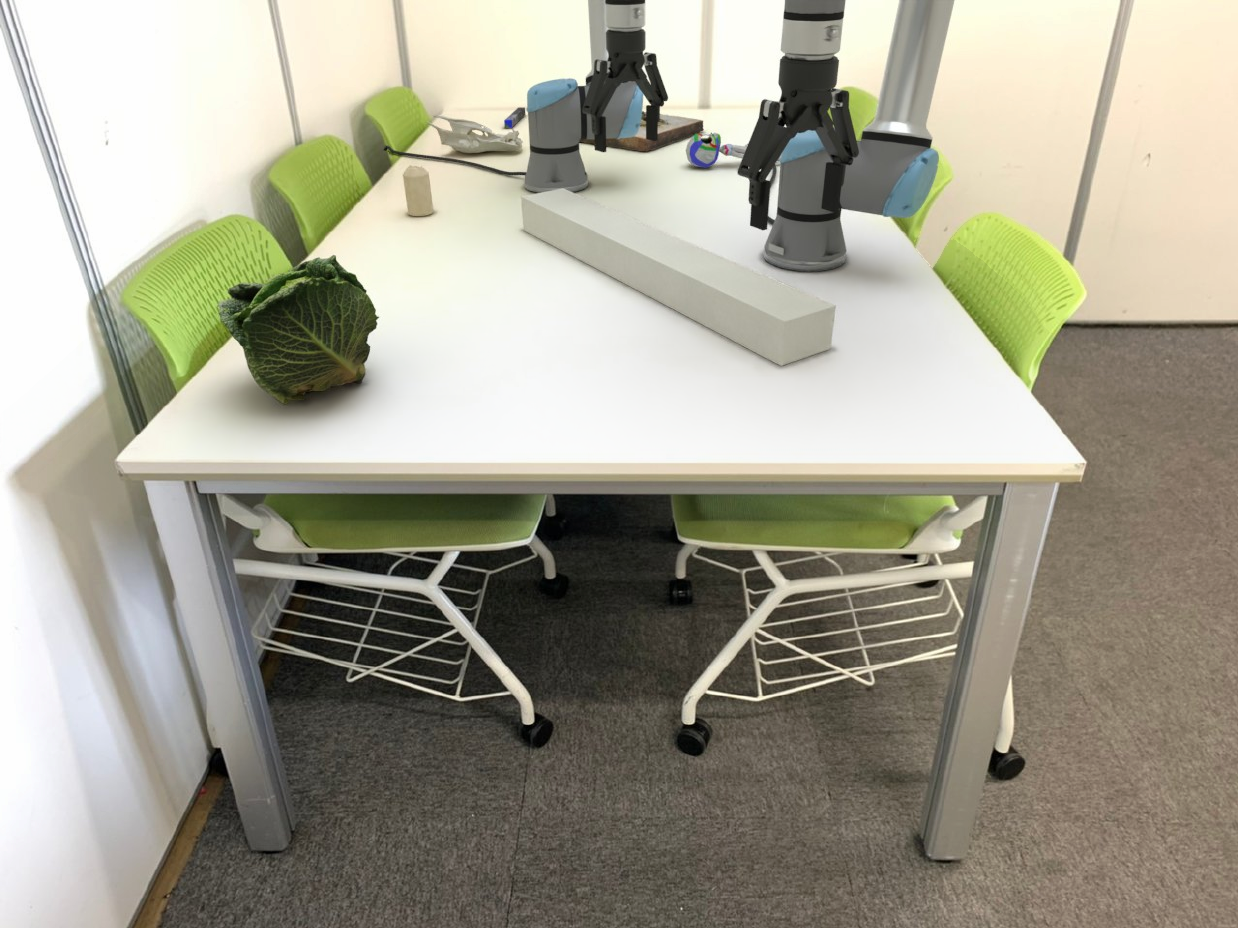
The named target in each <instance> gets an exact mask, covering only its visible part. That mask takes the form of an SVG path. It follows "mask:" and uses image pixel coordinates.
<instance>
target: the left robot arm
mask: <svg viewBox="0 0 1238 928" xmlns="http://www.w3.org/2000/svg"><path fill="white" fill-rule="evenodd" d="M587 7H588V8H587V9H588V27H589V42H590V43H589V45H590V46H589V47H590V64H591V70H590V71H589V73H588V74H587V75H586V76H585V85H579V84H578V82H577V79H575V78H570V77H569V78H557V79H551V80H547V81H542V82H539V83H537V84H534V85H532V86H531V87H530V88H529V89H528V90H527V93H526V108H525V111H526V112H527V119H528V120H527V121H528V123H527V124H528V140H529V141H528V142H529V157H528V162H527V168H526V171H505V170H502V169H498V168H495V167H492V166H487V165H485V164H480V163H476V162H472V161H468V160H462V159H457V158H456V159H455V158H451V157H443V156H436V155H429V154H420V153H419V154H418V153H414V152H413V153H412V152H406V151H405V152H404V151H399V150H395V149H394V148H392V147H391V146H390V145H385V146H384V148H383V151H384V152H386V151H389V152H391V153H392V154H394V155H399V156H407V157H412V158H420V159H429V160H436V161H444V162H450V163H457V164H463V165H467V166H473V167H476V168H479V169H484V170H487V171H491V172H494V173H497V174H501V175H506V176H524V180H523V183H524V188H525V189H526V190H527V191H530V192H531V193H535V194H537V193H542V192H547V191H552V190H557V189H563V188H564V189H566V190H568V191H571V192H573V193H576V192H579V191H583V190H584V189H586V188H587V187H589V175H588V173H587V171H586V168H585V164H584V161H583V158H582V156H581V153H580V141H579V140H588V139H594V141H595V144H594V151H596V152H600V153H607V146H606V139H611V138H617V139H620V138H628V137H634V136H635V135H636V134H637V133H638V131H639V128H640V123H641V117H642V111H643V107H644V97H645V100H647V102H648V105H645V112H646V139H648V140H652V141H658V122H659V120H660V114H661V107H664V105H665V102H668V100H669V96H668V93H667V89H666V86H665V85H664V81H663V78H662V76H661V73H660V69H659V66H658V60H657V54H656V53H655V52H647V51H645V50H646V49H647V47H646V46H647V45H646V40H647V39H646V35H647V33H646V30H645V29H644V27H645V26H646V0H587ZM643 67H644V69H645V71H644V70H643Z"/></svg>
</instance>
